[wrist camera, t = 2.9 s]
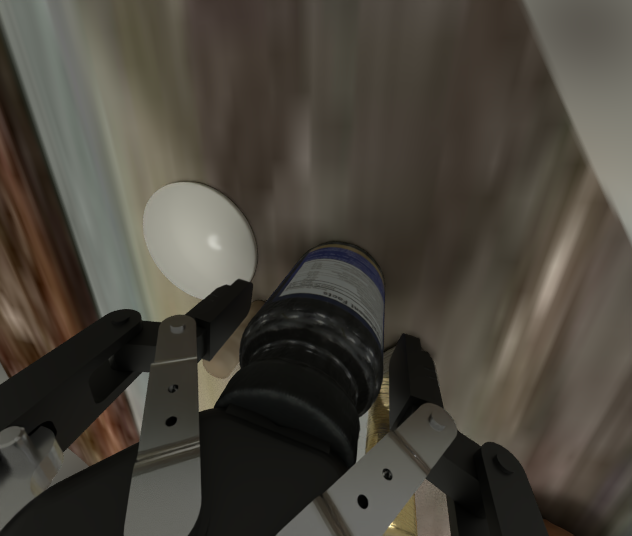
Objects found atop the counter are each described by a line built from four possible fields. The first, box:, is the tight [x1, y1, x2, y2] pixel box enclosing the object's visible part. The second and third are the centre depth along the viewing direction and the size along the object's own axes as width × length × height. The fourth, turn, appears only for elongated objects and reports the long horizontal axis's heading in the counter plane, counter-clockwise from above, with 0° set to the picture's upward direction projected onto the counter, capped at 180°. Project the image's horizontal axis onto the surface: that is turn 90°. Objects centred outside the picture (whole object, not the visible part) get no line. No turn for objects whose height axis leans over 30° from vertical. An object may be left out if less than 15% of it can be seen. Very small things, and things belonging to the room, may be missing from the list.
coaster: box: [143, 181, 258, 299], centre depth 19 cm, size 9×9×1 cm
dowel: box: [203, 300, 265, 379], centre depth 18 cm, size 2×2×6 cm
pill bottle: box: [214, 242, 385, 469], centre depth 13 cm, size 6×6×11 cm
